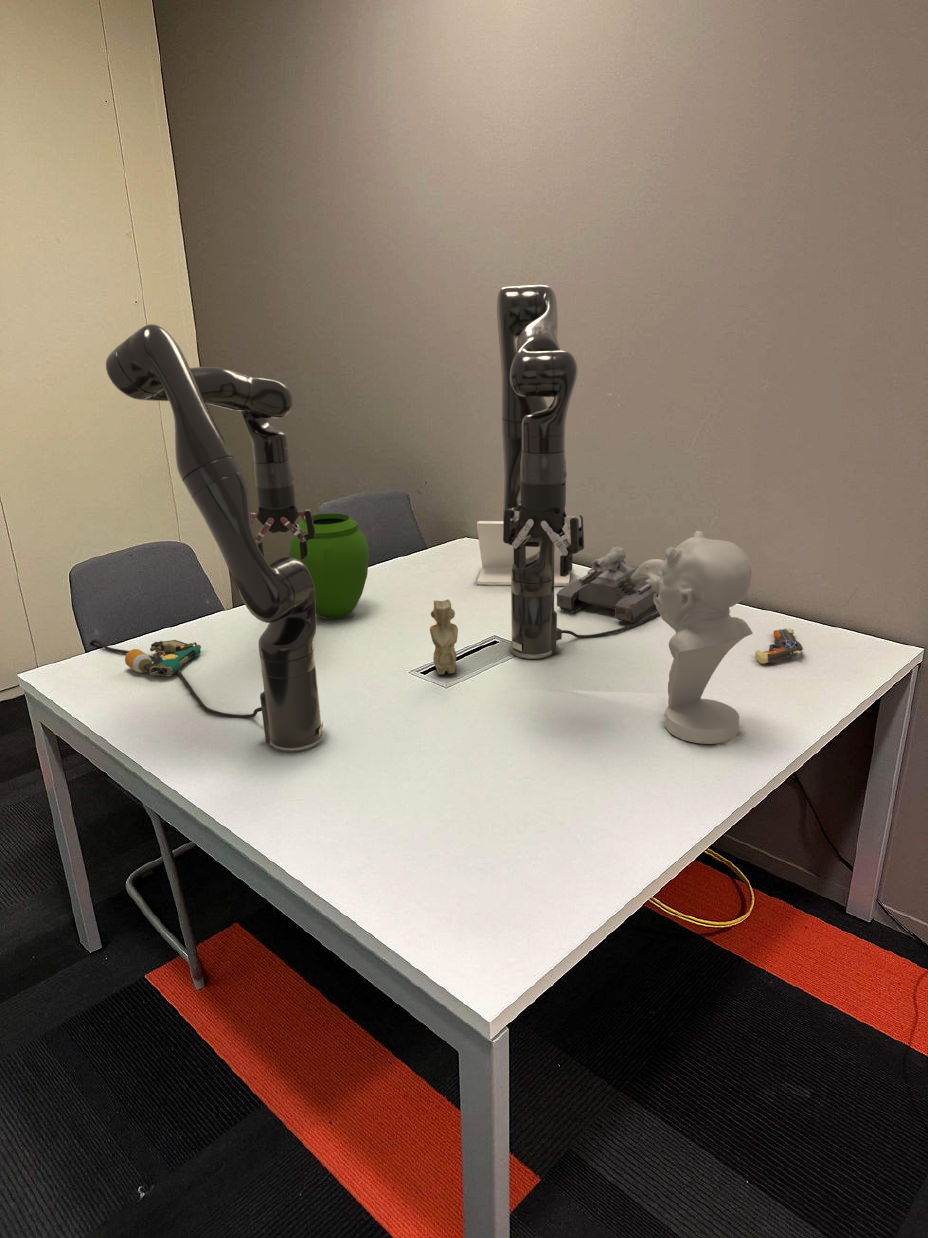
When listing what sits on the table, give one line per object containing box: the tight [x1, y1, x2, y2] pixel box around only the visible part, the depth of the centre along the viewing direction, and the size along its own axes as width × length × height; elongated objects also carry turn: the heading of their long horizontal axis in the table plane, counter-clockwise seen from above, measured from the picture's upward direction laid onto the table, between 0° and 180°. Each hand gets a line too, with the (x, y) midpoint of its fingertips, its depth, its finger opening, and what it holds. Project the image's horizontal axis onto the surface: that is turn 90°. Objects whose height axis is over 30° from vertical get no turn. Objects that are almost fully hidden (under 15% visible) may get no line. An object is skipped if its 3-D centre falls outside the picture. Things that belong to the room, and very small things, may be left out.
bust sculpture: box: [631, 530, 754, 745], centre depth 151 cm, size 16×24×35 cm, turn 28°
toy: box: [556, 546, 656, 624], centre depth 212 cm, size 25×20×15 cm
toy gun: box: [754, 628, 805, 664], centre depth 185 cm, size 3×19×10 cm
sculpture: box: [429, 599, 459, 675], centre depth 177 cm, size 6×7×15 cm
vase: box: [288, 512, 370, 620], centre depth 209 cm, size 20×20×24 cm
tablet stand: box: [476, 520, 571, 587], centre depth 236 cm, size 18×25×17 cm
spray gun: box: [124, 639, 202, 677], centre depth 186 cm, size 4×17×15 cm
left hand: (282, 559), depth 179 cm, fingers open, 8 cm apart
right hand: (542, 571), depth 146 cm, fingers open, 8 cm apart
